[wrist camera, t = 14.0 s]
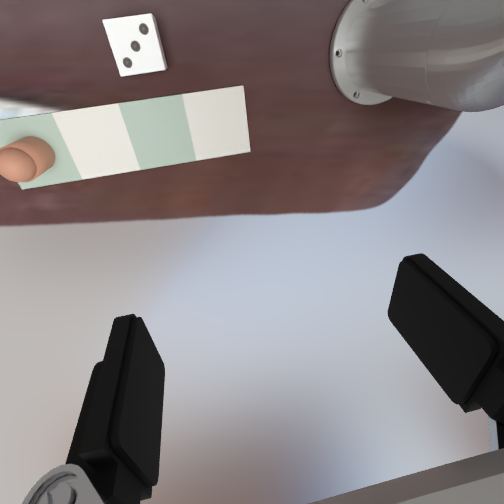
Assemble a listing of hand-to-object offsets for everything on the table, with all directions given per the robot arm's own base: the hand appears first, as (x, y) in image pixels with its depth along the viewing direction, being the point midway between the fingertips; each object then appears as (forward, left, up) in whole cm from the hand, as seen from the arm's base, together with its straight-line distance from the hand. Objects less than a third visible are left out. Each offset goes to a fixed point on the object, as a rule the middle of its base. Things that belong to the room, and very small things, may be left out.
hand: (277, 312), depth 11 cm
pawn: (+21, 0, -33) cm, 39 cm away
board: (+10, 0, -33) cm, 35 cm away
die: (+6, -9, -33) cm, 35 cm away
